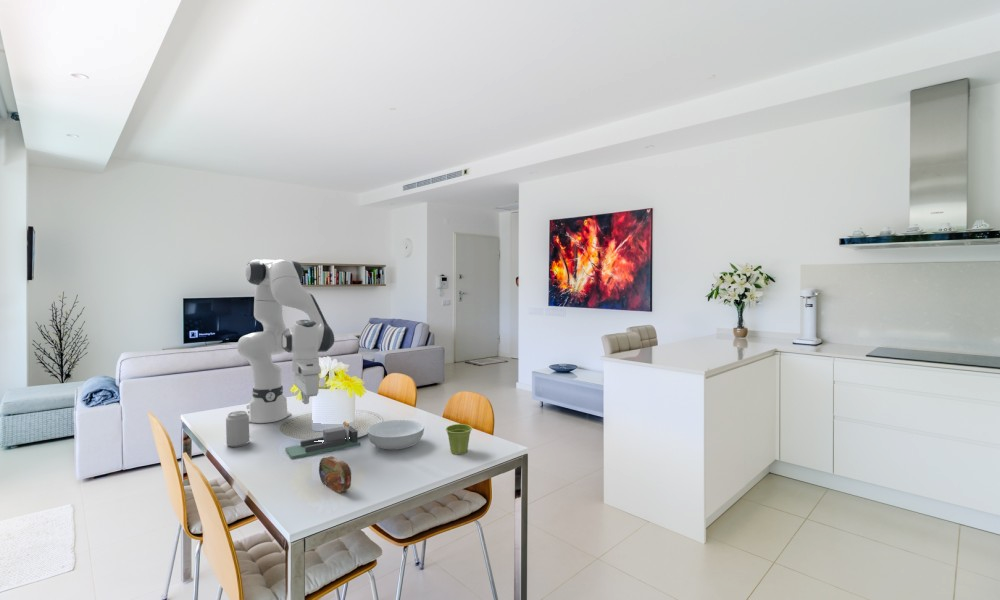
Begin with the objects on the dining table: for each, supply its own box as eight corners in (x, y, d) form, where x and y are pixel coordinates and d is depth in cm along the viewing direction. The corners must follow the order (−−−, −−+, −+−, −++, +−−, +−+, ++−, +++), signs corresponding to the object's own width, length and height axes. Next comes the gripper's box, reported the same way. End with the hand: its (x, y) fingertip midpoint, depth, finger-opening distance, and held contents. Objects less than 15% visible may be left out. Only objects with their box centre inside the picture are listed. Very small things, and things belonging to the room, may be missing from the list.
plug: (323, 443, 172) (323, 429, 172) (343, 439, 177) (343, 426, 176) (325, 446, 169) (325, 432, 169) (346, 442, 173) (346, 429, 173)
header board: (285, 450, 167) (284, 429, 167) (351, 437, 181) (351, 417, 181) (291, 459, 159) (291, 436, 159) (359, 444, 173) (359, 424, 173)
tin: (318, 481, 142) (317, 454, 142) (327, 478, 145) (327, 451, 144) (343, 497, 132) (343, 468, 132) (353, 493, 135) (353, 465, 134)
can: (239, 448, 169) (238, 416, 168) (221, 446, 170) (220, 414, 170) (254, 441, 176) (253, 410, 176) (237, 440, 178) (236, 409, 177)
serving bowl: (435, 443, 176) (435, 425, 176) (394, 460, 159) (394, 441, 159) (397, 432, 188) (397, 415, 188) (355, 447, 171) (355, 429, 170)
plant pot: (464, 458, 161) (464, 433, 161) (440, 453, 165) (440, 430, 165) (476, 449, 170) (476, 426, 169) (454, 445, 174) (454, 422, 173)
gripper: (289, 361, 173) (289, 397, 174) (303, 371, 157) (303, 411, 158) (307, 359, 177) (307, 395, 178) (322, 369, 161) (322, 408, 161)
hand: (305, 403), depth 168 cm, fingers closed
